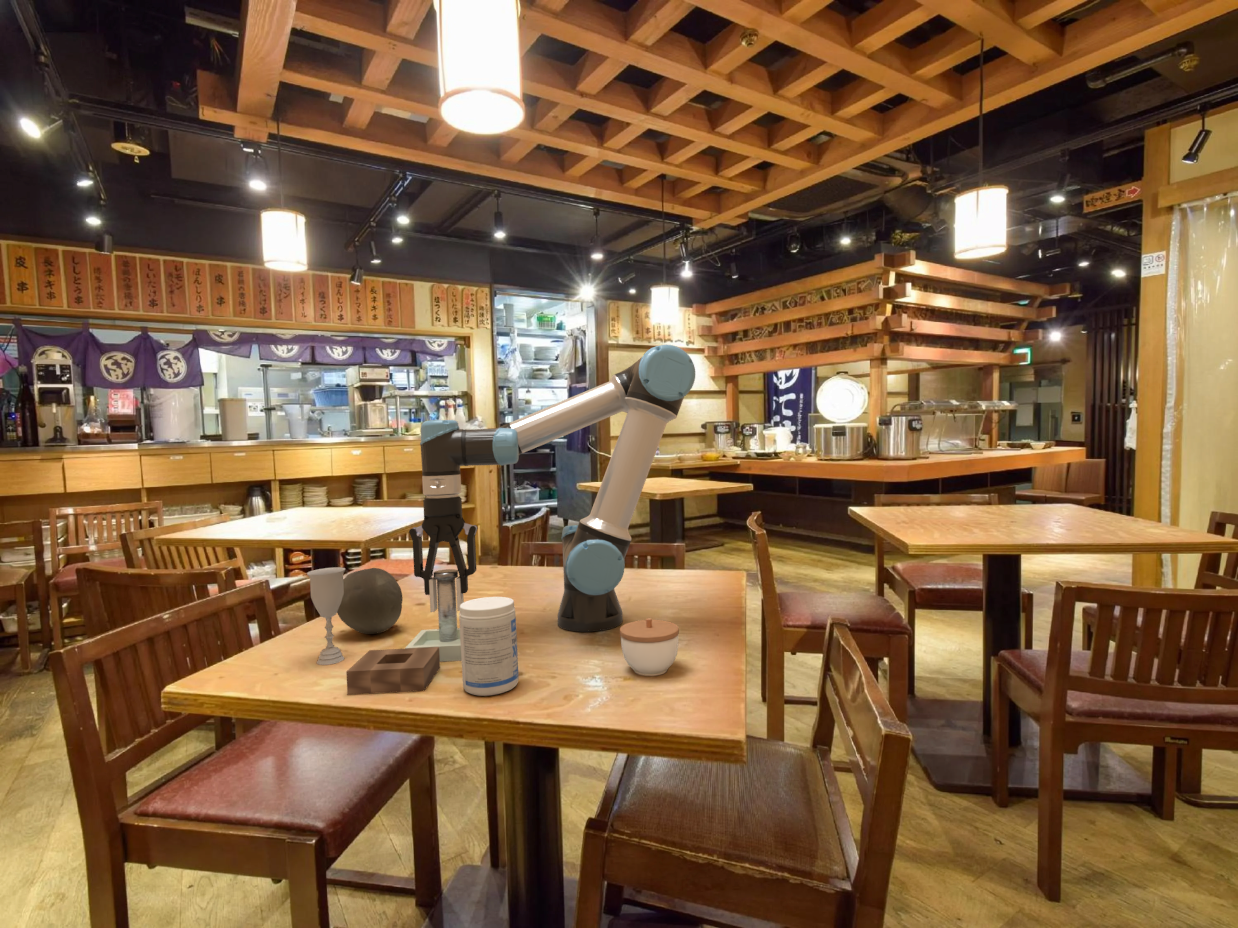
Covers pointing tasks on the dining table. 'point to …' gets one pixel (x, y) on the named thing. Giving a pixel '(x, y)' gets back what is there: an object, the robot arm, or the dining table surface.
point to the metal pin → (447, 604)
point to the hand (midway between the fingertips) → (447, 609)
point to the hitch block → (393, 670)
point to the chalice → (327, 606)
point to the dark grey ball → (370, 601)
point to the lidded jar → (649, 645)
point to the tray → (438, 644)
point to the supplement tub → (488, 645)
